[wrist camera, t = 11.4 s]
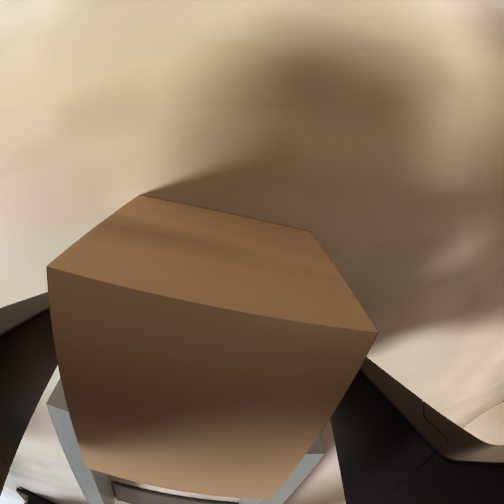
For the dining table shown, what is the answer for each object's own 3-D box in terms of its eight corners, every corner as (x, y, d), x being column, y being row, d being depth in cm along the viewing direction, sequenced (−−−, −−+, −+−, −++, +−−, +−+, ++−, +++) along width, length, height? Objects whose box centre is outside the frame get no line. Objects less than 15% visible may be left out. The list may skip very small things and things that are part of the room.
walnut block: (259, 381, 11) (270, 498, 6) (127, 356, 11) (86, 467, 6) (310, 231, 9) (378, 332, 4) (140, 194, 8) (46, 266, 4)
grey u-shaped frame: (244, 519, 17) (245, 540, 15) (100, 494, 15) (94, 514, 14) (315, 417, 12) (324, 453, 10) (64, 370, 11) (46, 403, 9)
